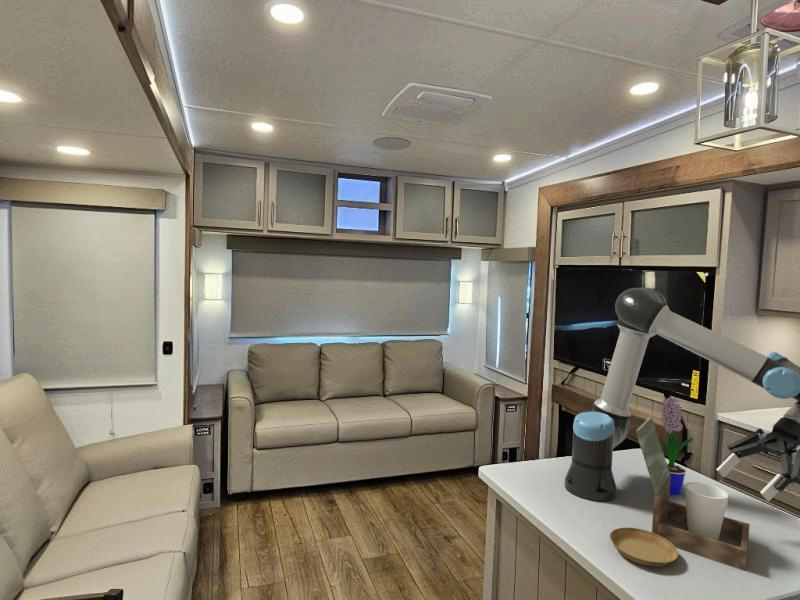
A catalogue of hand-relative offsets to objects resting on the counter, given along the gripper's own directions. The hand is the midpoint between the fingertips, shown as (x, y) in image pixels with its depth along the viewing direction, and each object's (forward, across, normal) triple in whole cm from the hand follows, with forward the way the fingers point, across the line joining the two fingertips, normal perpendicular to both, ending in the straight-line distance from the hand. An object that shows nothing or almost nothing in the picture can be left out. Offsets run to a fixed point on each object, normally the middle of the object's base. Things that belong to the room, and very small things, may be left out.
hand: (740, 484), depth 122 cm
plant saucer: (+31, -4, +10) cm, 33 cm away
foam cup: (+17, +1, -4) cm, 17 cm away
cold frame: (+19, +2, -2) cm, 19 cm away
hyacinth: (+8, +28, -12) cm, 32 cm away
